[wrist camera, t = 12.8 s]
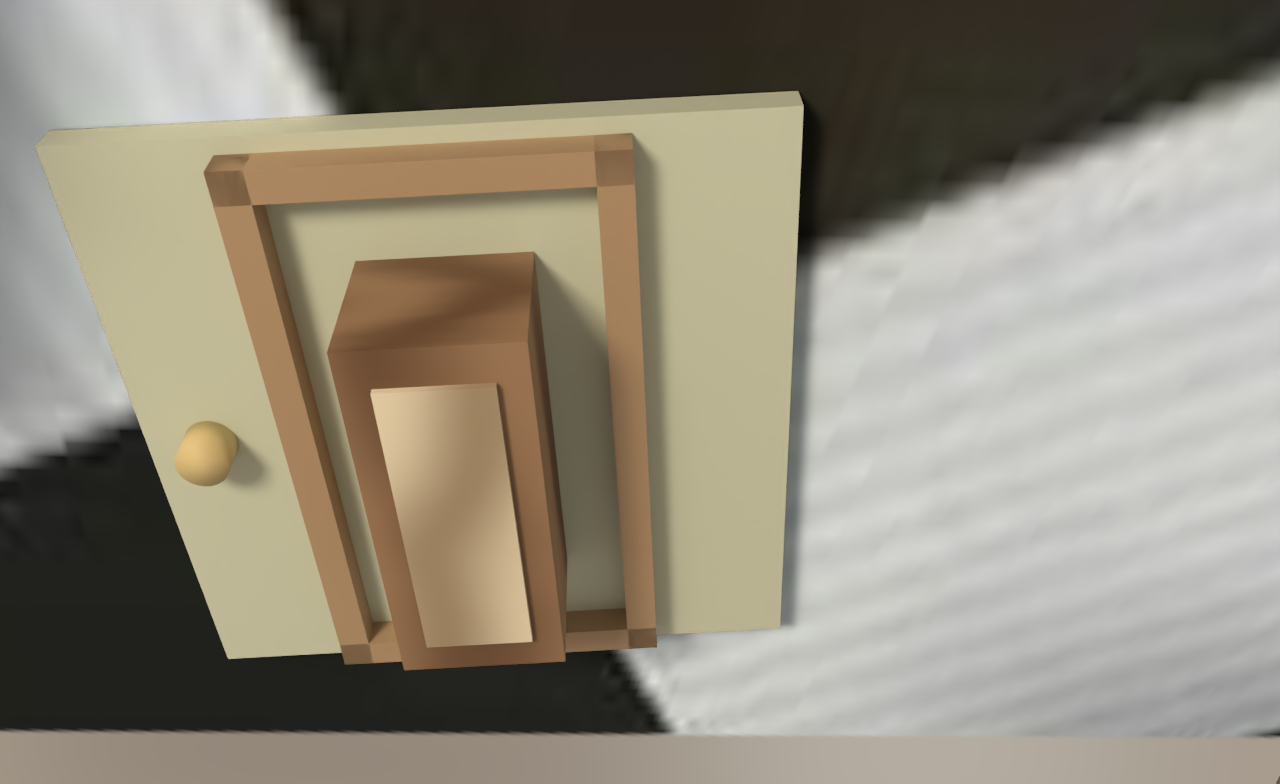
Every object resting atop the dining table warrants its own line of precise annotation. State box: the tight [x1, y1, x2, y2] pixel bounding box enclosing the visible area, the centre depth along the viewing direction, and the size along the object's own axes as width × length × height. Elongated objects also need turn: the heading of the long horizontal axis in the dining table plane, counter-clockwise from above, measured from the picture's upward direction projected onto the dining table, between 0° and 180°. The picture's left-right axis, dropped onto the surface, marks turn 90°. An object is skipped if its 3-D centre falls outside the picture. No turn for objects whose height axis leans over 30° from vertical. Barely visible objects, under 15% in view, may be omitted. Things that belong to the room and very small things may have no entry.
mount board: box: [35, 91, 804, 664], centre depth 36 cm, size 20×20×2 cm
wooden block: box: [327, 251, 567, 670], centre depth 34 cm, size 5×12×5 cm, turn 2°
